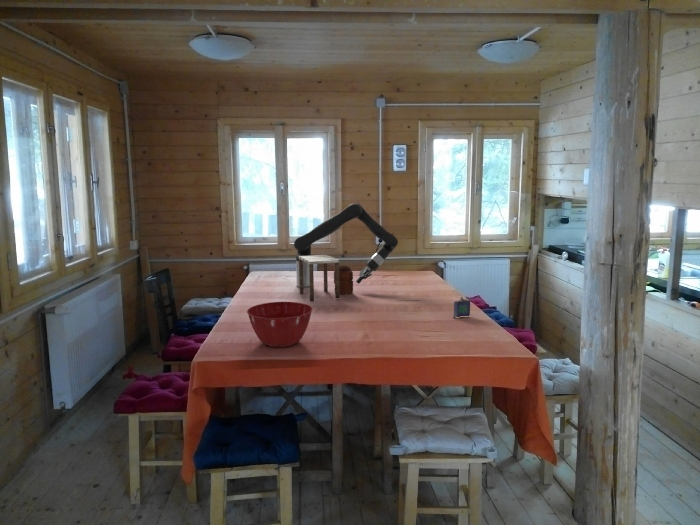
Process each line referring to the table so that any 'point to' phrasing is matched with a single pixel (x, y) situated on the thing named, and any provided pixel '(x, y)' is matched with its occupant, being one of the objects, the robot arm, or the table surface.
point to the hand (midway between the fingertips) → (357, 282)
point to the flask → (462, 307)
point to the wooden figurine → (345, 280)
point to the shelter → (324, 259)
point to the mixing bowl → (280, 322)
